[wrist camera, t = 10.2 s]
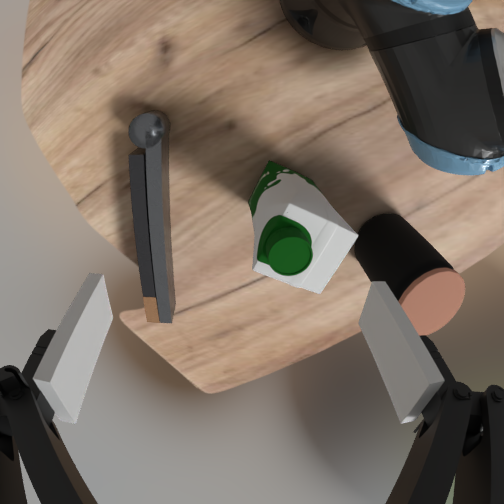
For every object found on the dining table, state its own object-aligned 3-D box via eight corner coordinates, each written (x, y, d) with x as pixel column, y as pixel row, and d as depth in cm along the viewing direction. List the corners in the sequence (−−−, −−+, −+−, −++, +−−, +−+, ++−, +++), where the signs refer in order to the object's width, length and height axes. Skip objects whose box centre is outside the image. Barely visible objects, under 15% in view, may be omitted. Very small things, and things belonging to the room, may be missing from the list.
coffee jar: (344, 264, 53) (384, 339, 37) (361, 206, 47) (416, 268, 32) (397, 268, 54) (444, 336, 38) (415, 214, 49) (477, 272, 33)
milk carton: (265, 151, 43) (290, 203, 25) (321, 178, 45) (376, 243, 28) (239, 205, 46) (244, 286, 29) (293, 228, 49) (327, 314, 31)
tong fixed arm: (139, 110, 38) (128, 114, 34) (170, 109, 39) (163, 113, 34) (152, 302, 54) (147, 321, 50) (176, 304, 55) (173, 323, 50)
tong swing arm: (138, 147, 41) (128, 155, 37) (152, 147, 41) (143, 154, 37) (152, 303, 54) (147, 321, 50) (164, 304, 54) (159, 322, 50)
